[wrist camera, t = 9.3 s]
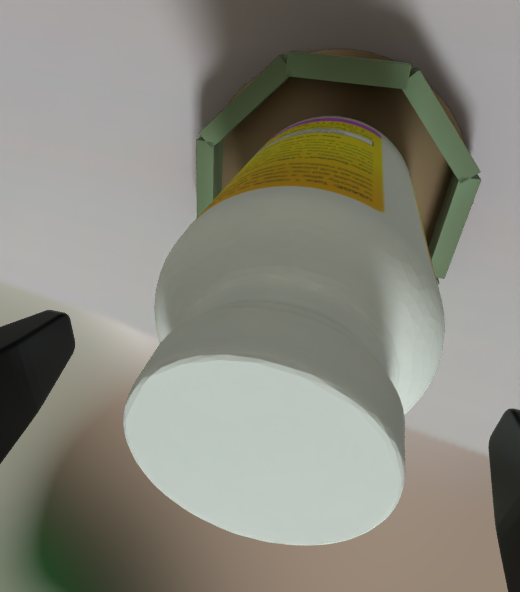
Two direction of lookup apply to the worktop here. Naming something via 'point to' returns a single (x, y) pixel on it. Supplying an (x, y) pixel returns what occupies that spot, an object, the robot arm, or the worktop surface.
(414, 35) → the worktop surface
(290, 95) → the coaster ring
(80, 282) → the worktop surface
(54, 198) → the worktop surface
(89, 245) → the worktop surface
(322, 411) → the supplement bottle
